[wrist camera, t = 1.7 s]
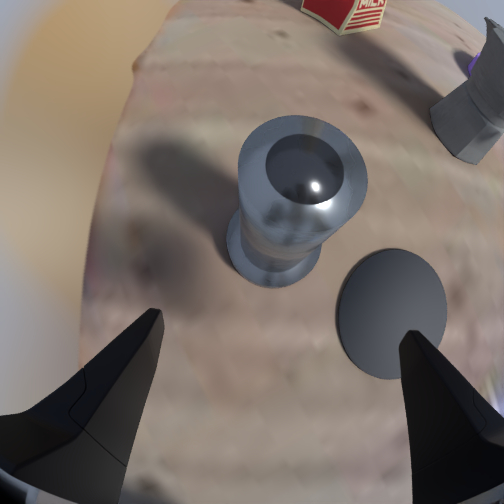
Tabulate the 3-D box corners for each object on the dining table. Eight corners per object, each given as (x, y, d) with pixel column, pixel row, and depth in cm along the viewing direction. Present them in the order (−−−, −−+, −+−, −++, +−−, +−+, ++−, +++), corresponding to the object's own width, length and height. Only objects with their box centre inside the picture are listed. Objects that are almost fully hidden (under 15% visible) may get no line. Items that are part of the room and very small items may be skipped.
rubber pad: (401, 400, 20) (403, 401, 20) (310, 330, 21) (311, 331, 21) (460, 299, 22) (462, 298, 22) (384, 224, 23) (385, 223, 23)
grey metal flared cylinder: (280, 307, 22) (327, 303, 9) (209, 249, 22) (171, 178, 10) (333, 237, 23) (414, 167, 11) (265, 184, 24) (284, 74, 11)
